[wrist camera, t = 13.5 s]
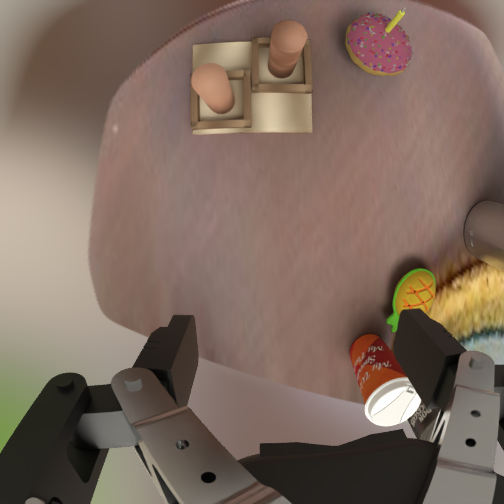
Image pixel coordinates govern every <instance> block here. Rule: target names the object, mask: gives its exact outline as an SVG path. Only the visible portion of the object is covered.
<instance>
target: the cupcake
mask: <svg viewBox="0 0 504 504" xmlns="http://www.w3.org/2000/svg"><path fill="white" fill-rule="evenodd" d="M405 9H406V8H405V7H404V8H403V10H400V11H399V12H398V13H397V14H396V16H395V17H394V18H393V19H392V20H391V19H390V18H387V16H383V15H382V14H380V15H378V14H377V13H376V14H374V12H372V13H371V14H369V13H368V14H366V13H365V14H363V15H362V16H361V17H359V18H358V19H356V20H355V21H354V22H352V23H351V24H350V25H349V26H348V28H347V30H346V41H345V46H346V48H347V51H348V53H349V55H350V57H351V59H352V61H353V62H354V63H355V64H357V65H358V66H359V67H360V68H361V69H363V70H364V71H365V72H367V73H370V74H373V75H379V76H388V75H390V76H395V75H397V74H399V73H401V72H403V71H404V70H405V69H406V67H407V66H408V63H410V62H409V61H410V59H411V55H413V53H412V52H411V44H410V41H409V37H408V35H406V34H405V31H404V30H403V29H402V28H401V27H400V26H399V25H398V24H397V23H398V22H399V20H400V19H401V18H402V17H403V16H404V14H405V13H404V10H405Z"/></svg>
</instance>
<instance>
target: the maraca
mask: <svg viewBox="0 0 504 504" xmlns="http://www.w3.org/2000/svg"><path fill="white" fill-rule="evenodd" d="M434 297H435V278H434V276H433V274H432V273H431V272H430V271H428V270H426V269H422V268H417V269H414V270H411V271H410V272H408V273H407V274H405V275H404V276H403V277H402V278H401V279H400V281H399V282H398V284H397V286H396V288H395V291H394V296H393V303H392V306H393V313H392V315H390V316H389V317H388V318H387V320H386V322H387V324H391V325H392V326H391V331H392V332H396V331H397V326H398V321H399V315H400V312H401V311H402V310H403V309H415V308H420V309H421V310H422V311H423V312H424V313H426V312H427V311H428V310H429V308H430V307H431V305H432V303H433V301H434Z"/></svg>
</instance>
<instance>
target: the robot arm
mask: <svg viewBox="0 0 504 504" xmlns="http://www.w3.org/2000/svg"><path fill="white" fill-rule="evenodd" d="M464 238H465V244H466V247H467V249H468V251H469V252H470V253H471V254H472V255H473V256H475V257H477V258H478V259H480V260H482V261H484V262H486V263H487V264H489V265H491V266H493V267H495V268H497V269H498V270H500V271H502V272H504V204H500V203H496V202H492V201H487V200H486V201H482V202H480V203H478V204H477V205H475V206H474V207H473V209H472V210H471V211H470V213H469V215H468V217H467V220H466V223H465V228H464ZM394 355H395V358H396V360H397V362H398V363H399V365H400V366H401V368H402V370H403V371H404V373H405V374H406V376H407V378H408V379H409V381H410V382H411V384H412V386H413V387H414V389H415V391H416V392H417V394H418V396H419V397H420V399H421V401H422V402H423V404H424V406H425V407H426V409H427V410H430V409H434V408H438V407H440V409H441V410H440V412H439V414H438V417H437V420H436V423H435V426H434V429H433V432H432V435H431V438H430V441H426V440H421V439H413V438H407V437H406V435H405V433H404V431H403V429H400V430H394V431H389V432H383V433H377V434H371V435H368V436H365V437H363V438H360V439H357V440H354V441H352V442H348V443H346V444H342V445H339V446H328V445H316V444H308V443H298V442H293V443H262V444H260V454H256V455H252V456H249V457H245V458H242V459H240V460H236V459H235V458H234V457H233V455H232V454H231V453H229V451H228V450H227V449H226V448H225V447H224V446H223V445H222V444H221V443H220V442H219V441H218V440H217V438H216V437H215V436H214V435H213V434H212V433H211V432H210V431H209V430H208V428H207V427H206V426H205V425H204V424H203V423H202V422H201V420H200V419H199V418H198V417H197V416H196V415H195V414H194V412H193V411H192V410H191V409H190V408H189V407H188V406H187V404H188V400H189V396H190V393H191V388H192V385H193V381H194V378H195V374H196V370H197V366H198V344H197V335H196V325H195V318H194V316H193V315H173V317H172V319H171V321H170V323H169V325H168V327H160V328H158V329H157V330H155V331H154V332H153V333H151V335H150V337H149V338H148V340H147V343H146V344H145V346H144V349H142V351H141V353H140V355H139V356H138V358H137V360H136V362H135V364H134V365H133V367H132V368H128V369H124V370H122V371H120V372H118V373H117V374H116V375H115V376H114V377H113V378H112V380H111V384H107V385H95V386H87V383H86V380H85V378H84V377H83V376H82V375H80V374H77V373H63V374H60V375H57V376H55V377H53V378H52V379H51V380H50V381H49V382H48V383H47V384H46V386H45V387H44V389H43V390H42V391H41V393H40V394H39V396H38V397H37V398H36V400H35V401H34V403H33V404H32V406H31V407H30V409H29V410H28V411H27V413H26V414H25V416H24V417H23V419H22V420H21V422H20V423H19V425H18V427H17V428H16V429H15V431H14V433H13V434H12V436H11V437H10V439H9V440H8V442H7V443H6V445H5V447H4V448H3V450H2V452H1V453H0V504H90V502H91V500H92V497H93V493H94V491H95V488H96V485H97V482H98V479H99V476H100V473H101V470H102V467H103V465H104V462H105V459H106V456H107V453H108V450H109V448H118V447H129V446H133V448H134V450H135V451H136V453H137V455H138V457H139V459H140V460H141V462H142V464H143V466H144V467H145V469H146V471H147V473H148V474H149V476H150V478H151V479H152V481H153V482H154V484H155V486H156V488H157V489H158V491H159V493H160V495H161V496H162V498H163V500H164V502H165V503H166V504H504V477H503V476H501V475H499V474H497V473H495V472H494V470H493V468H494V461H495V454H496V446H497V440H498V442H499V443H500V445H501V447H502V449H503V450H504V365H495V364H494V361H493V360H492V358H491V357H489V356H488V355H487V354H484V353H482V352H479V351H467V350H466V349H465V348H464V347H463V346H462V345H461V344H460V343H459V342H458V341H457V340H456V339H455V338H454V337H452V335H451V334H450V333H449V332H447V330H446V329H445V328H444V327H443V326H442V325H441V324H440V323H438V322H436V321H434V320H432V319H430V318H429V317H428V316H427V315H426V314H425V313H424V312H423V311H422V310H421V309H420V308H415V309H403V310H402V311H401V312H400V315H399V321H398V326H397V331H396V336H395V341H394Z"/></svg>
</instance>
